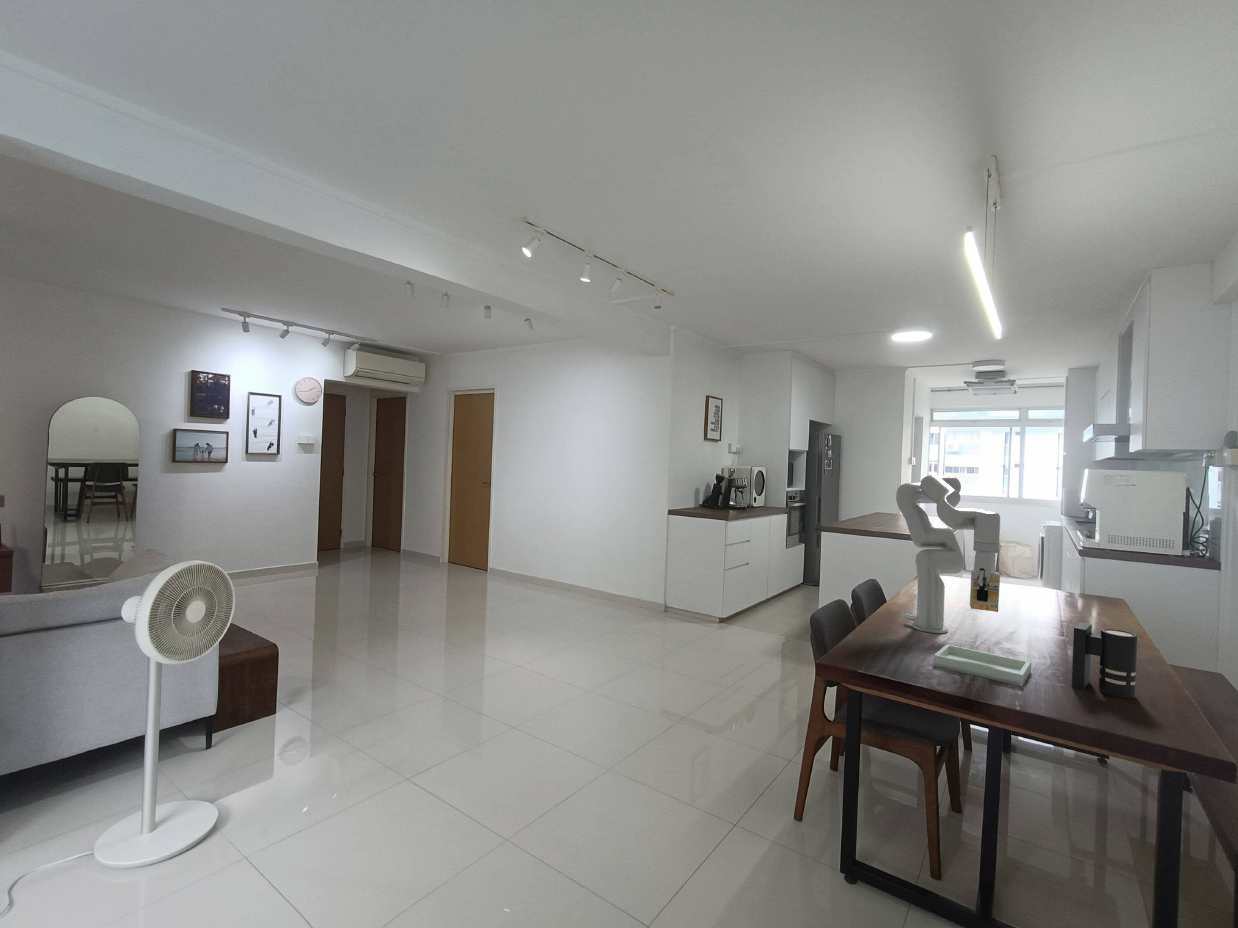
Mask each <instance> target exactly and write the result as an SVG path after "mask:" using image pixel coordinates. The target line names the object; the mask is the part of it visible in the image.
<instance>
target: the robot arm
mask: <svg viewBox="0 0 1238 928" xmlns="http://www.w3.org/2000/svg"><path fill="white" fill-rule="evenodd" d="M961 489H962V485H961V481H960V480H959V479H958V478H957V477H956V476H954V475H946V474H941V475H940V474H930V475H926V476H924V477H923V478H922V479H921V480H920V482H907V483H903V484H901V485H899V486H898V487H897V490H896V494H895V496H896V497H895V498H896V504H897V507H898V509H899V511H900V512H901V514H902V516H903V518H904V520H905V523H906V526H907V529H908V532H909V534H910V538H911V541H912V543H913V544H914V546H915V547H916V548H919V549H922V550H920V551H918V552H917V553H916V554H915V558H914V559H915V567H916V572H917V573H916V574H917V576H916V577H917V585H916V586H917V588H916V591H917V592H916V593H917V594H916V596H917V597H916V614H914V615H913V614H912V615H911V614H908V613H905V615H904V617H905V619H906V620H907V621H913V622H912V623H911V627H912V628H913V629H916V630H917V631H920V632H921V631H922V632H924V633H929V634H930V633H932V634H945V633H948V632H949V628H948V626H946V625H944V624H945V623H944V619H945V617H944V616H945V588H946V587H945V583H944V581H943V579H942V578H941V575H942V574H948V575H949V574H951V575H952V574H954V575H955V574H959V573H961V572H963V570H964V567H965V559H964V556H963V552H962V551H961V548H960V545H959V543H958V539H957V537H956V535H955V533H954V531H953V530H956V531H957V530H958V531H962V530H963V531H965V530H966V531H973V549H972V550H973V552H975V555H974V561H973V562H974V563H973V570H974V574H973V579H974V580H976V579H977V577H978V576H979V577H978V586H977V600H978V601H984V602H987V601H988V590H987V587H988V582H989V581H991V577H992V573H994V572H996V554H999V552H1000V536H1001V535H1000V533H1001V532H1000V531H1001V530H1000V529H1001V515H1000V513H998V512H995V511H987V510H985V509H982V508H981V509H980V508H957V506H958V505H959V503H960V501H961V495H960V492H961V491H962V490H961ZM918 504H936V509H935V510H936V514H937V517H938V518H939V520H940V521H942V522H943V524H945V525H942V524H937V525H936V524H932V523H931V521H930V519H929V516H928V514H927V512H926V511H925V510H924V509H923V508H922V507H921V506H919V505H918ZM986 577H987V578H986ZM983 579H986V581H985V580H983Z"/></svg>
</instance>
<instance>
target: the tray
mask: <svg viewBox="0 0 1238 928" xmlns="http://www.w3.org/2000/svg"><path fill="white" fill-rule="evenodd" d="M933 666H934V667H938V668H941V669H942V668H943V669H946V670H950V671H954V672H958V673H963V674H968V675H971V676H975V677H978V678H984V679H988V680H992V681H997V682H1002V683H1005V684H1009V685H1014V686H1016V687H1018V686H1019V687H1023V686H1024V685H1025V683H1027V682H1026V681H1027V680H1028V679H1029V677H1030V675H1031V673H1032V661H1029V660H1025V659H1019V658H1015V657H1011V656H1010V657H1009V656H1005V655H1000V654H995V653H991V652H986V651H982V650H977V649H972V648H968V647H967V648H966V647H962V646H957V645H954V644H953V645H952V644H948V643H947V644H946V645H944V646H943V647H942V648H940V649H939V650H938V651H937V652H936V653H935V654H933Z"/></svg>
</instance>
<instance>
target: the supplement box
mask: <svg viewBox="0 0 1238 928" xmlns="http://www.w3.org/2000/svg"><path fill="white" fill-rule="evenodd" d="M973 574H974V569H971V573H970V575H971V576H970V590H969V591H970V593H969V608H970V609H972V610H980V611H988V612H989V611H990V612H995V613H999V602H1000V601H999V599H1000V583H1001V582H1000V580H1001V573H1000V572H997V571H995V572H994V573H992V577H991V581H989V582H988V587H987V590H988V601H987V602H984V601H978V600H977V586H978V577H979V576H978V577H977V579H976V580H974V579H973ZM986 578H987V577H986ZM983 580H985V581H986V579H983Z"/></svg>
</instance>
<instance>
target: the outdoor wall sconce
mask: <svg viewBox="0 0 1238 928" xmlns="http://www.w3.org/2000/svg"><path fill="white" fill-rule="evenodd" d="M1092 629H1093V625H1092V624H1091V623H1086V622H1082V621H1081V622H1079V623H1077V624H1076V625H1075V626H1074V627H1073V642H1072V644H1073V645H1072V646H1073V647H1072V666H1071V667H1072V670H1071V671H1072V672H1071V673H1072V674H1071V688H1074V689H1077V690H1083V691H1084V690H1085V688H1087V686H1088V685H1089V684H1090V682H1091V681H1090V680H1091V659H1092V656H1096V657H1099V671H1098V672H1099V676H1098V677H1099V679H1098V691H1099V692H1101V693H1103V694H1105V695H1107V696H1111V697H1114V698H1120V699H1126V700H1133V699H1135V698H1136V680H1137V679H1136V676H1137V674H1136V673H1137V652H1138V651H1137V650H1138V635H1137V634H1136V633H1134V632H1130V631H1126V630H1123V629H1122V630H1121V629H1115V628H1102V629H1100V634H1097V633H1093V631H1092Z"/></svg>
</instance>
